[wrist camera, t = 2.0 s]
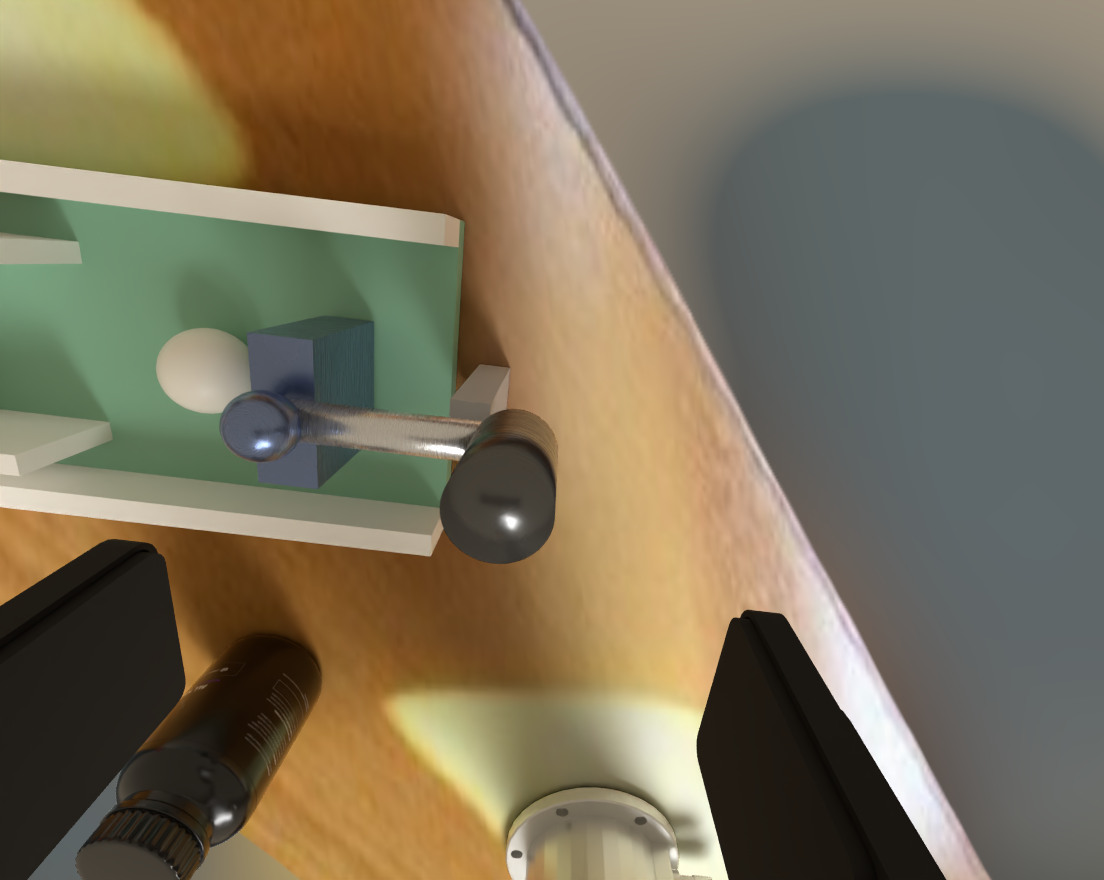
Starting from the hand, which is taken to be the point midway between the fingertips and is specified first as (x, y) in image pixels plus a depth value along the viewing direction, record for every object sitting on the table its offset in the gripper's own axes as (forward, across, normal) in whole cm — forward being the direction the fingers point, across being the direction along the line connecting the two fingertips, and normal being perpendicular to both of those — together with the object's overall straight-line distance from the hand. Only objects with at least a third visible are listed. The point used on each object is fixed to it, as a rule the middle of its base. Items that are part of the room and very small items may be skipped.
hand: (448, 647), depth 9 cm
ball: (+17, +15, +1) cm, 22 cm away
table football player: (+18, +4, +1) cm, 19 cm away
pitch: (+20, +15, +1) cm, 25 cm away
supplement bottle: (+20, +15, +22) cm, 33 cm away
